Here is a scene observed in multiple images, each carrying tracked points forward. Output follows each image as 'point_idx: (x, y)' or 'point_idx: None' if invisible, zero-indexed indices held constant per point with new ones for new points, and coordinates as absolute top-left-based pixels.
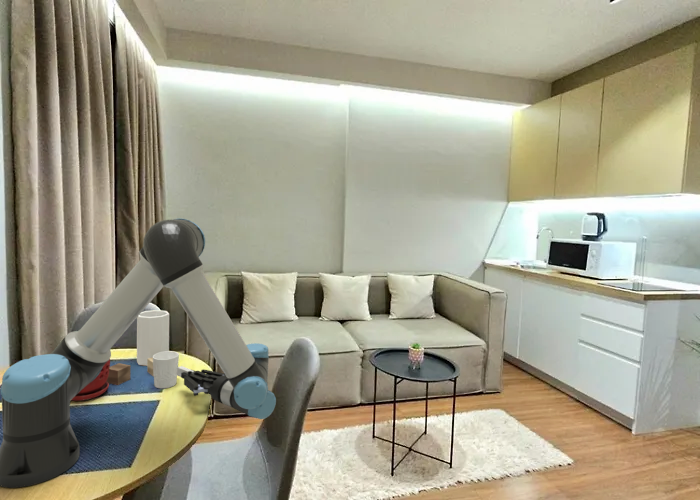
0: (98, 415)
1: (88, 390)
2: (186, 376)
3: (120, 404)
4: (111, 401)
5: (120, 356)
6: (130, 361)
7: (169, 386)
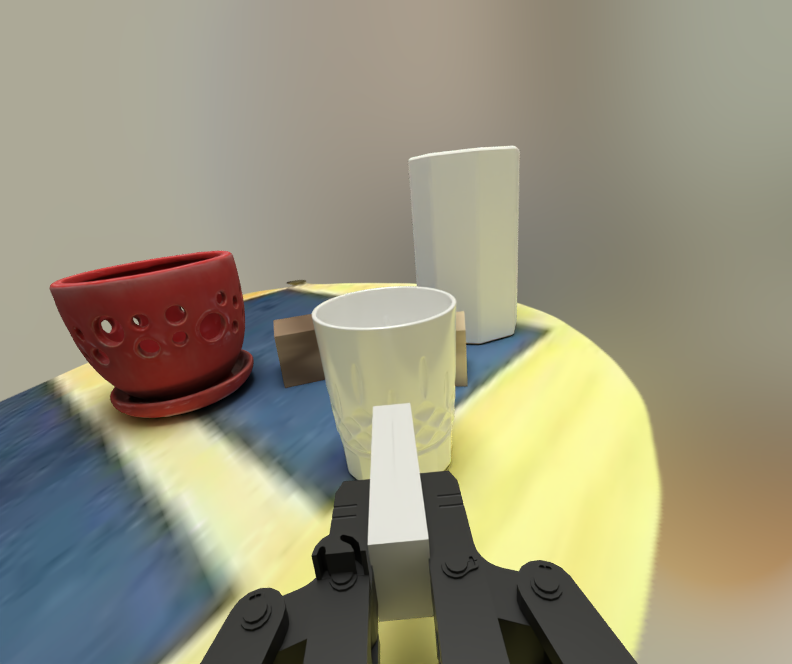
0: None
1: (127, 388)
2: (247, 623)
3: (127, 506)
4: (152, 464)
5: None
6: None
7: None
